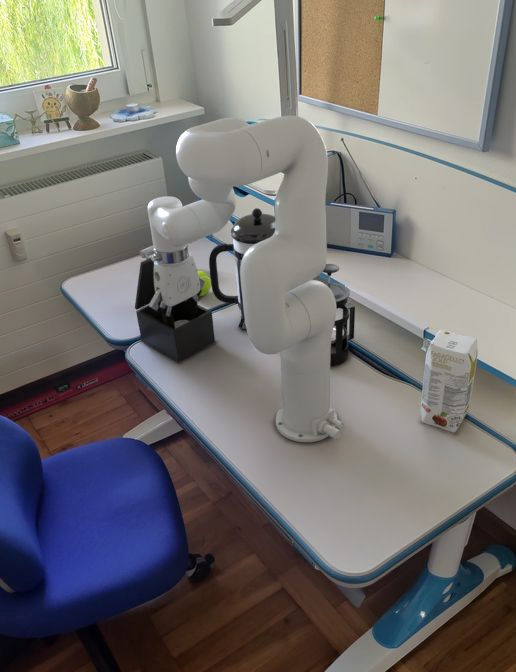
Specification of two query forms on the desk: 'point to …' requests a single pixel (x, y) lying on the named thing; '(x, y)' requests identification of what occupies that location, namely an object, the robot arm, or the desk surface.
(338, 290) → the french press
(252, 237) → the coffee press
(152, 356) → the desk surface
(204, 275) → the tennis ball
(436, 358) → the juice carton
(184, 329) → the hinged black storage box
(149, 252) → the lid
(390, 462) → the desk surface
